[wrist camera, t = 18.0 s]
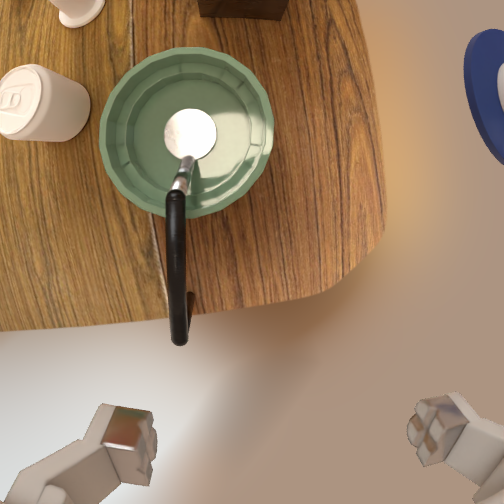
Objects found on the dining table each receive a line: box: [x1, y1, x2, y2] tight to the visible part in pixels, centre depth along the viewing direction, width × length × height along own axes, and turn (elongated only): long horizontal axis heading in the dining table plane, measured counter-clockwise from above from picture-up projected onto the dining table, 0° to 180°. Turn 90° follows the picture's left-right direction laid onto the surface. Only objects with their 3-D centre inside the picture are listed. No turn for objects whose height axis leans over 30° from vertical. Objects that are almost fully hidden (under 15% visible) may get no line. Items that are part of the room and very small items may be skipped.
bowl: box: [99, 47, 274, 218], centre depth 32 cm, size 18×18×7 cm
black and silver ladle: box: [164, 108, 217, 346], centre depth 32 cm, size 24×6×11 cm, turn 177°
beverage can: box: [0, 64, 90, 142], centre depth 27 cm, size 8×8×12 cm
